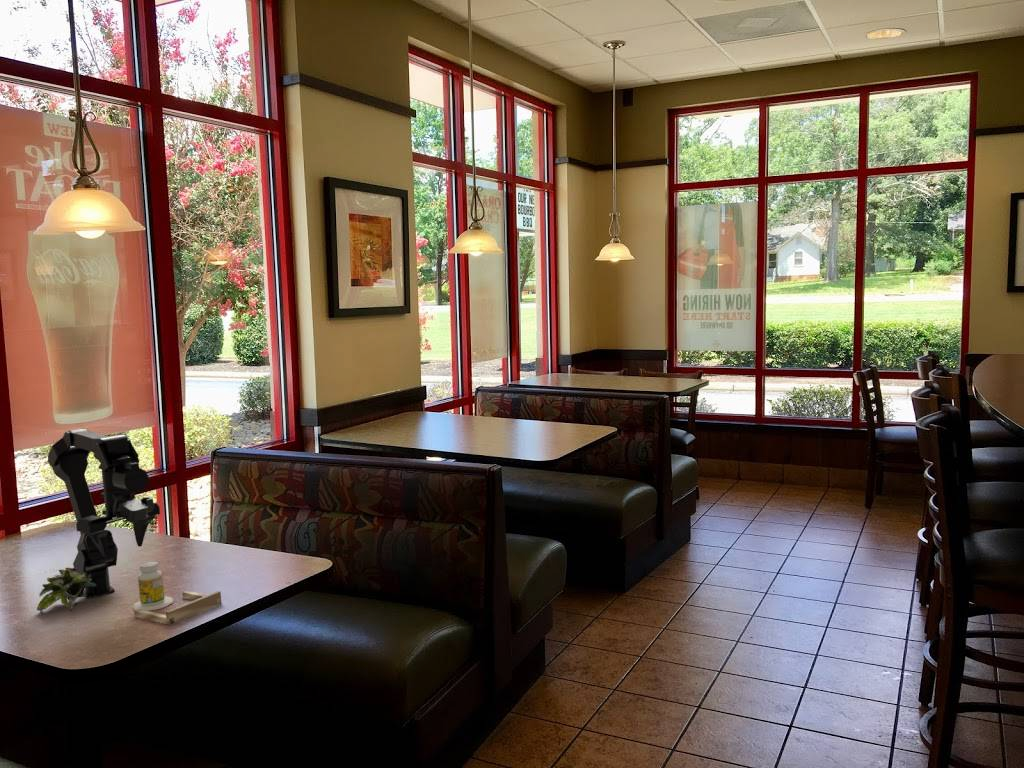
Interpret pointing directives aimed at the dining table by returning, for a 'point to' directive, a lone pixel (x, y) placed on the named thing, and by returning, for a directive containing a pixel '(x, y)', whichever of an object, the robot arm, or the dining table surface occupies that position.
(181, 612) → the wooden slat frame
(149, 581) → the supplement bottle
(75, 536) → the dining table surface
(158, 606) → the coaster
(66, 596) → the green leafy plant
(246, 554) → the dining table surface
